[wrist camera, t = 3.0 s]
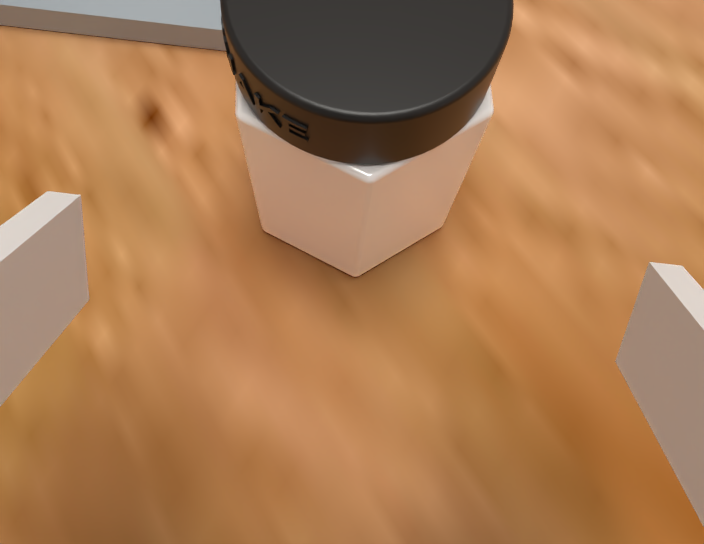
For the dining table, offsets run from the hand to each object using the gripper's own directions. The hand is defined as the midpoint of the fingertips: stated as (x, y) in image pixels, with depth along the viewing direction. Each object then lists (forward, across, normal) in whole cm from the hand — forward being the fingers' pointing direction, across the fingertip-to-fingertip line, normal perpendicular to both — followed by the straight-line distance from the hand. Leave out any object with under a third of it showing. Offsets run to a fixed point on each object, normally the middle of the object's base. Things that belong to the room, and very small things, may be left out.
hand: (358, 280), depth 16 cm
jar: (+14, -1, -3) cm, 15 cm away
